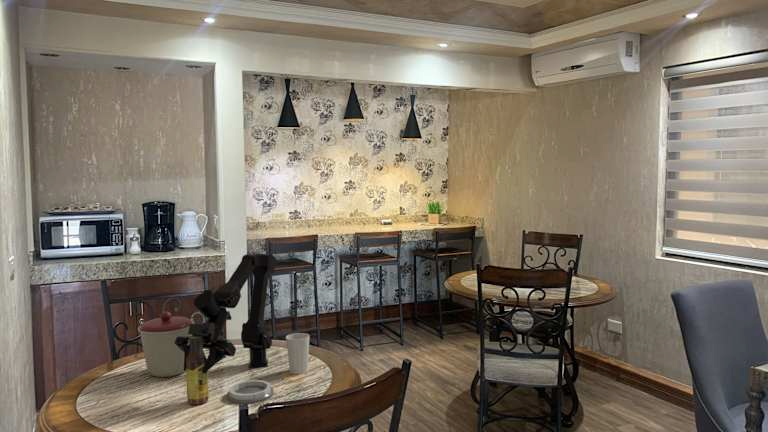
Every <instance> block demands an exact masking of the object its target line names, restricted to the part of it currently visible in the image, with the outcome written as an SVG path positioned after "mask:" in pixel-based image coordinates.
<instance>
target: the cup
mask: <svg viewBox="0 0 768 432" xmlns="http://www.w3.org/2000/svg"><path fill="white" fill-rule="evenodd" d="M285 343H286V349H287V356H288V364H289V373H290V374H291V375H292V374H293V375H303V374H306V373H308V372H309V354H310V353H309V352H310V350H309V349H310V334H309V333H306V332H305V333H303V332H302V333H301V332H299V333H298V332H296V333H290V334H287V335H285Z"/></svg>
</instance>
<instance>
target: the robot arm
mask: <svg viewBox="0 0 768 432" xmlns="http://www.w3.org/2000/svg"><path fill="white" fill-rule="evenodd" d="M276 264H277V259H276V257H275V256H274V254H273V253H255V254H252V253H251V254H244V255H242V258H241V261H240V262H239V264H238V265H237V267H236V268H235V270H234V271H233V272H232V275H231V276H230V278H229V280H228V281H227V282H225V283H224V284H222V285H220V286H219V287H218V288H217V289H216V291H214V293H213V291H212V290H211V289H205V290H204V291H203V292H202V293H199V294H198V295H197V296H196V297H195V298H194V301H193V305H194V307H195V308H196V309H197V310H198V311H199V312H200V314H201V315H202V316H203V317H205V318H206V320H205V322H201V324H198V323H194V324H190V326H189V331H188V334H189V335H190V334H191V335H201V336H203V350H208V356H207V357H206V358H207V360H206V363H205V365H204V367H203V371H202V372H203V373H204V374H205V373H206V372H207V371H208V372H209V371H210V370H211V369H212V368H213V367H214V366H215V365H217V364H218V363H219V362H220V361H221V360H222V359H226V358H227V357H235V354H236V352H237V350H236V349H237V348H236V346H235V345H234V344H233V343H232V342H231V340H229V339H222V338H221V339H220V337H223V336H224V332H223V331H224V327H225V325H226V323H227V321H231V320H232V316H231V311H229V310H227V309H235V308H236V307H237V305H238V304H239V302H240V300H241V298H242V294H241V291H242V290H243V289H242V288H244V286H245V284H246V282H247V281H248V280H249V278H250V276H251V274H252V276H253V286H252V295H251V301H250V307H249V308H250V310H249V318H248V320H247V321H246V322H243V323H242V326H241V332H240V339H241V343H242V347H243V348H244V349H249V361H248V362H249V363H248V368H260V367H268V364H269V359H268V358H267V350H269V349H270V348H271V347H272V344H273V339H272V338H271V337H270V336H269V334H268V327H267V325H266V323H265V321H264V318H265V309H266V302H267V293H268V285H269V279H270V278H271V276H272V275H273V274H274V271H275V269H276V268H275V267H276ZM174 343H175V344H176V345H177V346H178V347H179V348H180V349H181V350H182V351H184V371H185V372H184V373H186V359H187V357H188V355H189V353H190V342H189V337H188V336H178V337H177V338H176V340H175V342H174Z"/></svg>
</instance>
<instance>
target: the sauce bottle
mask: <svg viewBox="0 0 768 432" xmlns="http://www.w3.org/2000/svg"><path fill="white" fill-rule="evenodd" d="M189 342H190V353H189V355H188V357H187V359H186V372H185V375H186V398H187V402H188V404H189V405H192V406H197V405H202V404H205V403H207V402H208V401H209V396H210V389H209V388H210V386H209V383H210V382H209V370H208V371H207V372H206V373H205V374H204V373H203V372H202V371H203V367H204V365H205V363H206V360H207V358H208V357H207V356H206V354H205V352H204V349H203V336H201V335H192V336H189Z"/></svg>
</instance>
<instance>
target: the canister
mask: <svg viewBox="0 0 768 432" xmlns="http://www.w3.org/2000/svg"><path fill="white" fill-rule="evenodd" d="M190 324H195V321H194V320H192V319H190V318H189V317H184V316H178V315H177V316H176V315H175V316H172V314H171V312H170V311H163V312H162V313H160V317H157V318H154V319H149V320H147V321H144V323H142V324H141V325H139V326H138V328H137V331H138V332H139V333H140V339H141V344H142V350H143V355H144V360H145V364H146V368H147V371H148V373H149V375H151V376H153V377H157V378H158V377H159V378H165V377H166V378H168V377H174V376H177V375H180V374H182V373H183V374H184V373H186V372H185V371H184V351H182V350H181V349H180V348H179V347H178V346H177V345H176V344H175V343H174V342H175V340H176V338H177V337H178V336H188V337H189V336H192V335H191V334H190V335H189V334H188V331H189V326H190Z"/></svg>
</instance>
